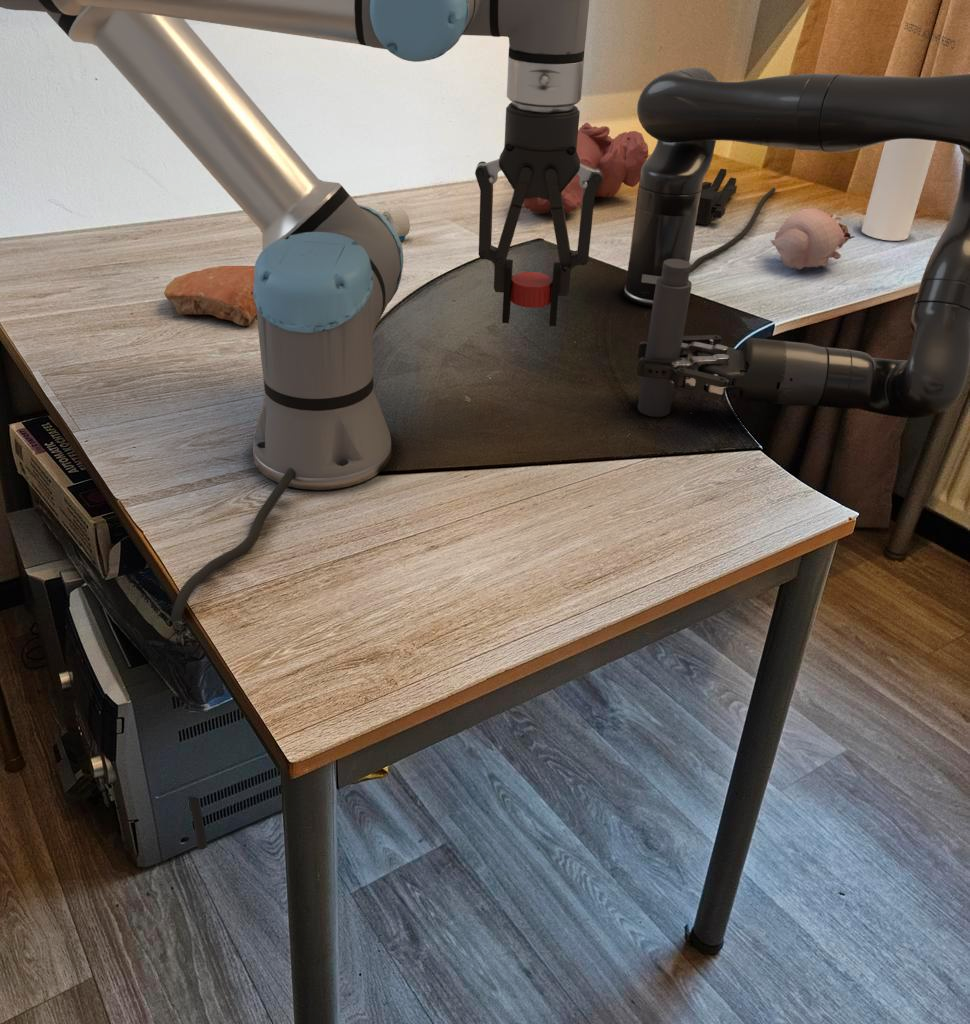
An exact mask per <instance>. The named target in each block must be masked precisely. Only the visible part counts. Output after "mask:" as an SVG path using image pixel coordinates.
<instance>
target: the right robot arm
mask: <svg viewBox="0 0 970 1024" xmlns="http://www.w3.org/2000/svg"><path fill="white" fill-rule="evenodd" d="M636 113H637V114H636V115H637V117H638V122H639V123H640V125H641V127H642V128H643V130H644V131H645V132H646V133H647V134H648V135H649V136H651V137H652V138H654V139H655V140H657V141H656V144H655V147H654V149H653V151H652V153H651V154H650V155H649V156H648V158H647V159H646V162H645V163H644V164H643V166H642V168H641V173H640V180H639V182H638V187H637V196H636V204H635V213H634V218H633V219H634V220H633V227H632V235H631V242H630V249H629V250H630V251H629V257H628V264H627V272H626V273H627V274H626V281H625V285H624V289H623V295H624V297H625V298H626V299H627V300H629V301H630V302H632V303H634V304H637V305H640V306H644V307H650V308H652V307H653V300H654V294H655V287H656V280H657V279H658V278H659V277H661V276H662V269H663V262H664V261H665V260H667V259H681V260H685V261H687V262H689V263H690V261H691V256H692V255H691V254H692V248H693V242H694V237H695V231H696V224H697V223H696V219H697V213H698V207H699V201H700V195H701V189H702V184H703V182H704V180H705V177H706V175H707V173H708V171H709V169H710V168H711V164H712V161H713V157H714V153H715V148H716V143H717V141H727V142H738V143H743V144H744V143H745V144H749V145H756V146H762V147H770V148H778V149H789V150H795V151H806V152H819V153H835V154H837V153H838V154H839V153H848V152H849V153H850V152H855V151H859V150H862V149H865V148H870V147H872V146H876V145H879V144H882V143H885V142H886V141H890V140H897V139H921V140H931V141H936V142H940V143H946V144H952V145H956V146H958V147H959V150H960V153H961V155H962V157H963V158H962V169H961V175H960V183H959V189H958V193H957V197H956V201H955V204H954V207H953V210H952V213H951V215H950V217H949V220H948V222H947V224H946V226H945V228H944V229H943V232H942V234H941V235H940V237H939V239H938V241H937V242H936V244H935V246H934V248H933V250H932V252H931V254H930V257H929V259H928V261H927V264H926V266H925V269H924V272H923V275H922V278H921V280H920V284H919V287H918V291H917V294H916V298H915V301H914V303H913V304H914V305H913V307H912V312H911V315H910V329H911V330H912V331H913V338H912V342H911V346H910V349H909V350H910V351H909V354H908V357H907V360H905V359H888V358H883V357H882V358H880V357H872V355H871V354H869V353H867V352H863V351H861V350H855V349H847V348H837V347H827V346H826V347H824V346H819V345H815V344H812V343H806V342H797V341H787V340H777V339H768V338H756V337H748V338H747V339H745V341H744V342H743V344H742V347H741V348H739V349H738V348H734V347H730V346H727V345H722V344H721V343H722V336H720V335H719V334H705V335H683V339H682V345H681V351H680V357H679V361H672V363H671V364H670V360H665V359H655V358H645V354H646V347H647V341H643V340H642V341H640V342H639V343H638V351H637V358H638V362H637V370H636V374H637V375H638V376H639V377H641V378H642V377H651V378H661V379H669V382H670V383H674V384H675V385H674V390H676V391H679V392H683V393H686V394H687V393H688V394H691V395H695V396H699V397H704V398H708V399H712V400H715V401H723V400H724V399H725V396H726V395H725V394H726V391H727V390H733V389H735V392H736V393H735V394H736V397H737V399H738V400H740V401H745V402H754V403H764V404H773V405H775V404H776V405H783V406H791V407H792V406H794V407H804V406H805V407H806V406H807V407H808V406H811V407H815V406H816V407H824V408H834V409H843V410H845V409H846V410H861V411H865V412H868V413H869V412H870V413H873V414H879V415H883V416H884V415H885V416H890V417H896V418H906V419H919V418H925V417H928V416H935V415H938V414H942V413H944V412H946V411H948V410H949V409H951V408H952V407H953V406H954V405H955V404H956V403H957V401H959V398H960V397H961V395H962V393H963V391H964V389H965V386H966V383H967V379H968V376H969V371H970V73H963V74H953V75H938V76H921V77H920V76H916V77H915V76H894V75H893V76H892V75H857V74H844V73H841V74H840V73H800V74H787V75H778V76H771V77H763V78H757V79H750V80H743V81H742V80H741V81H720V80H718V79H717V77H716V76H715V75H714V74H713V73H711V71H709V70H708V69H705V68H703V67H695V66H693V67H685V68H681V69H675V70H671V71H668V72H665V73H662V74H660V75H658V76H657V77H654V79H652V80H651V81H650V82H648V83H647V85H646V86H645V87H644V88H643V90H642V91H641V93H640V94H639V97H638V100H637V105H636ZM776 191H777V190H776V188H775V187H772V188H771V189H769V191H768V192H767V193H766V194H764V196H763V197H761V200H760V201H759V203H758V204H757V207H756V208H755V210H754V212H753V215H752V216H751V218H750V219H749V221H748V223H747V224H746V226H744V228H743V229H742V230H741V231H740V232H739V233H738V234H737V235H735V236H734V237H733V238H732V239H731V240H729V241H727V242H726V243H725V244H723V245H721V246H719V247H718V248H716V249H713V250H712V251H709V252H707V253H705V254H703V255H702V256H699V257H698V258H697V259H696V260H695V261H694V262H693V263H691V270H690V273H692V272H694V270H696V268H697V267H698V266H700V264H702V263H703V262H705V261H707V260H708V259H710V258H713V257H715V256H717V255H718V254H720V253H722V252H724V251H726V250H727V249H729V248H730V247H732V246H733V245H735V244H737V242H738V241H740V240H741V239H742V238H744V236H745V235H747V233H748V232H749V231H750V229H751V228H752V227H753V225H754V224H755V221H756V220H757V218H758V216H759V214H760V212H761V210H762V208H763V207H764V205H765V203H766V202H767V200H768V199H769V198H770V197H771V196H772V194H774V193H775V192H776Z"/></svg>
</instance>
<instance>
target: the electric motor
mask: <svg viewBox="0 0 970 1024" xmlns="http://www.w3.org/2000/svg"><path fill="white" fill-rule="evenodd" d="M381 215H383V216H384V217H385V218H386V219H387V220H388V221H389V222H390V224H391V225H392V226H393V228H394V229H395V231H396V233H397V235H398V237H399V239H400V241H404V240H405V238H406V236H407V235H409V233H410V229H411V222H410V218H409V216H408V213H407V212H406V210H404V209H403V208H397V209H392V210H387V211H384V212H383V213H381Z"/></svg>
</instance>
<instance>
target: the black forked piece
mask: <svg viewBox="0 0 970 1024" xmlns="http://www.w3.org/2000/svg"><path fill="white" fill-rule="evenodd" d="M727 171H728V170H727V169H726V168H720V169H719V171H718V173H717V175H716V177H715V178H714V180H713V182H710V181H703V184H702V189H701V195H700V201H699V207H698V213H697V219H696V224H699V225H706V226H707V225H709V223H711V221H712V220H713V218H716V219H722V217H723V216H724V215H725V212H726V204H727V203H728V201H729V199H730V198H731V197H732V196H734V195H735V194H736V193H737V188H738V185H736V182H737V177H732V176H731V177H730V178H729V179H728V180H727V182H726V183H725V185H724V187H723V188H722V190H719V189H720V188H721V186H722V184H723V181H724V180H725V178H726V176H727Z"/></svg>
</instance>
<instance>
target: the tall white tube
mask: <svg viewBox="0 0 970 1024" xmlns="http://www.w3.org/2000/svg"><path fill="white" fill-rule="evenodd" d="M904 30H905V31H907V32H910V33H912V32H913V34H915V33H916V34H917V35H918V36H921V37H923V38H924V37H925V39H928V40H930V41H931V40H932V41H933V42H937V40H938V44H939V43H940V44H942V45H943V46H946V47H947V48H948V47H949V49H950V48H951V49H952V50H953V49H954V48H955V45H956V40H954V39H951V38H948V37H946V36H942V37H941V34H938V35H937V33H934V32H933V31H931V30H926V29H923V34H921V31H922V27H920V26H918V25H915V24H912V23H909V22H908V21H907V22H905V26H904ZM927 33H928V35H927ZM940 37H941V38H940ZM940 39H941V42H940ZM945 39H946V40H945ZM944 42H945V43H944ZM952 43H954V44H953V46H952ZM936 145H937V141H931V140H921V139H897V140H890V141H886V142H884V145H883V148H882V151H881V155H880V159H879V163H878V166H877V170H876V174H875V177H874V182H873V185H872V189H871V193H870V196H869V201H868V203H867V208H866V212H865V215H864V220H863V222H862V227H861V232H862V233H863V234H864V235H866V236H868V237H871V238H873V239H878V240H884V241H893V242H895V241H897V242H898V241H899V242H900V241H905V240H907V239H909V236H910V233H911V229H912V226H913V222H914V219H915V215H916V211H917V210H918V209H917V208H918V206H919V202H920V198H921V195H922V191H923V188H924V184H925V182H926V178H927V175H928V171H929V169H930V165H931V161H932V158H933V155H934V151H935V148H936Z"/></svg>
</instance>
